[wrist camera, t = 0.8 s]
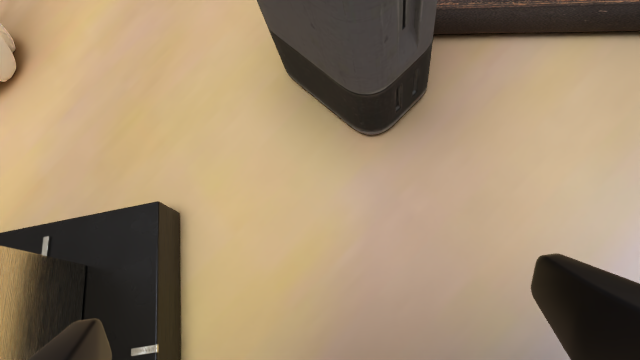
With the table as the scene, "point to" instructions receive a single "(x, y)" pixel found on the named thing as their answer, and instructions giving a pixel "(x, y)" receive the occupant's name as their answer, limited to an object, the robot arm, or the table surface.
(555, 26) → the hardcover book
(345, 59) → the electronic device
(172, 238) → the dial plate
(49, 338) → the brushed aluminum block
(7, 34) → the water bottle
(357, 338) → the table surface
